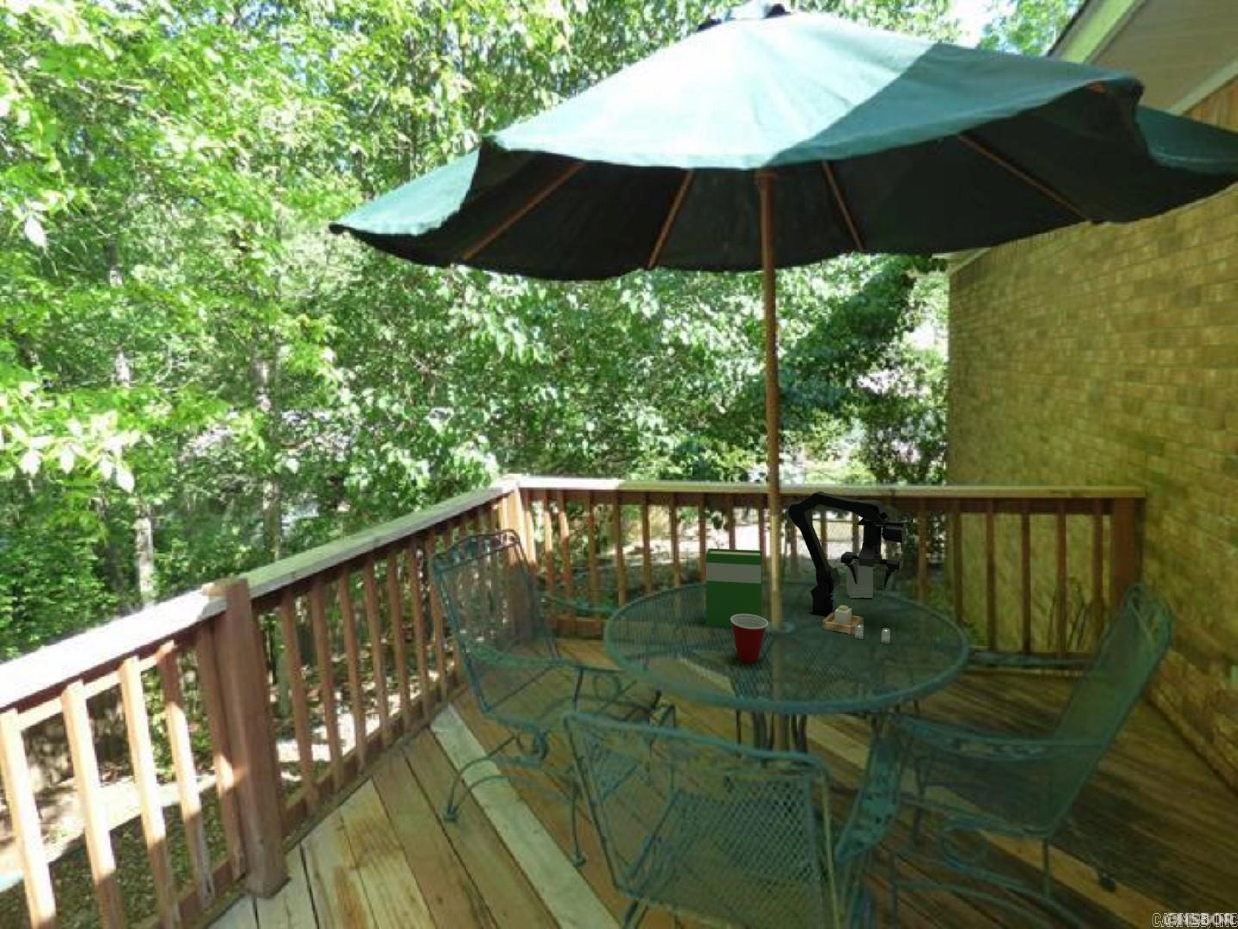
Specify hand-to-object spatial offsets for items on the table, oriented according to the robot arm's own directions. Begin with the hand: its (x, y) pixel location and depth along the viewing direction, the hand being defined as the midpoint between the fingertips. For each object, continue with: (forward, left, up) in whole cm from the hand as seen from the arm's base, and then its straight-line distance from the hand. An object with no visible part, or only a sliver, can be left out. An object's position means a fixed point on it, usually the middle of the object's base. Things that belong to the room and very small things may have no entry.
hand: (870, 586), depth 250 cm
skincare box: (-10, +25, -12) cm, 30 cm away
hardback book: (-38, -24, -12) cm, 47 cm away
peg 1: (+1, -17, -12) cm, 21 cm away
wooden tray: (-6, -10, -12) cm, 17 cm away
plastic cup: (-22, -50, -12) cm, 56 cm away
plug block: (-6, -10, -11) cm, 16 cm away
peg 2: (+9, -17, -12) cm, 23 cm away
